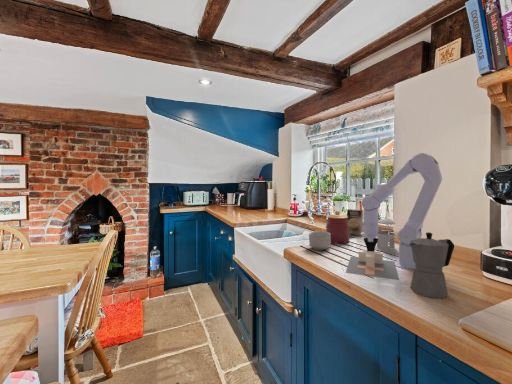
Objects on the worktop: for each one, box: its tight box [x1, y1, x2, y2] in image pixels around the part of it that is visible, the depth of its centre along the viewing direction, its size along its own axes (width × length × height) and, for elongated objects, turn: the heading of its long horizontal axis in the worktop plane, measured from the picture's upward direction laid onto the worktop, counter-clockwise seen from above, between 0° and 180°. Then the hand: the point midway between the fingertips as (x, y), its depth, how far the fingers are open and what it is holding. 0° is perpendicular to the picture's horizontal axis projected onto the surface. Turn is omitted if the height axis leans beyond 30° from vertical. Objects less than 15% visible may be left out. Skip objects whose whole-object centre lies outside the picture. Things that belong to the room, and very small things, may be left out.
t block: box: [358, 249, 384, 268], centre depth 99 cm, size 9×9×4 cm
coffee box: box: [346, 208, 364, 236], centre depth 160 cm, size 9×6×16 cm
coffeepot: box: [409, 232, 455, 299], centre depth 74 cm, size 15×9×18 cm, turn 101°
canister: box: [325, 210, 351, 244], centre depth 141 cm, size 13×13×18 cm
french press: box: [375, 199, 398, 252], centre depth 122 cm, size 10×12×25 cm
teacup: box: [308, 230, 331, 251], centre depth 126 cm, size 14×11×8 cm
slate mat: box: [345, 256, 400, 281], centre depth 96 cm, size 17×22×1 cm
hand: (370, 254), depth 108 cm, fingers closed
